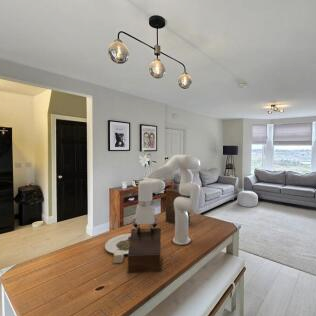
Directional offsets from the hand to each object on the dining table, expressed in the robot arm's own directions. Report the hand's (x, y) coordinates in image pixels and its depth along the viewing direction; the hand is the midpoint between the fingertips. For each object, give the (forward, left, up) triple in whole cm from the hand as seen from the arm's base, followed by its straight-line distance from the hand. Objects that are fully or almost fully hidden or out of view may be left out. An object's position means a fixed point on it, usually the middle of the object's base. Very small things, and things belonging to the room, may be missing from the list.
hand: (145, 235), depth 108 cm
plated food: (-26, -14, -18) cm, 34 cm away
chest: (-2, 0, -17) cm, 18 cm away
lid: (0, 0, -4) cm, 3 cm away
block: (-7, -16, -17) cm, 25 cm away
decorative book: (-65, +20, -18) cm, 70 cm away
